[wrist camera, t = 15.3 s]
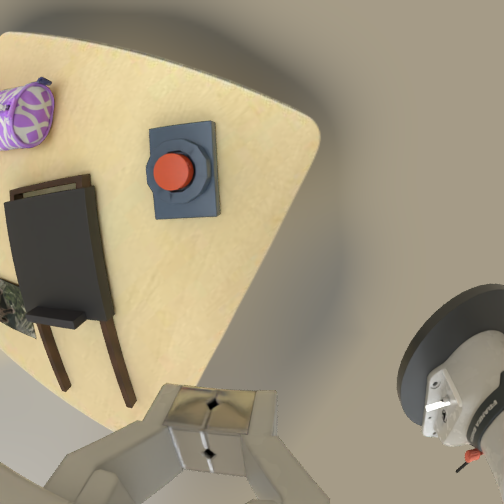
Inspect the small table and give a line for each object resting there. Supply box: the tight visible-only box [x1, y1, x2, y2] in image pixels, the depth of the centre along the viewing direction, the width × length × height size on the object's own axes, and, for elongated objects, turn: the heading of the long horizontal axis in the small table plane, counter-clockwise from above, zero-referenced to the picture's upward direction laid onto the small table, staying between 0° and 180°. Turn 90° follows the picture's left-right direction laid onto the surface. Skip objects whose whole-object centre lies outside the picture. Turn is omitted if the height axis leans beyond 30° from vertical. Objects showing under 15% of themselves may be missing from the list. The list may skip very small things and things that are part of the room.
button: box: [154, 153, 194, 191], centre depth 29 cm, size 4×4×2 cm
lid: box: [4, 186, 115, 329], centre depth 35 cm, size 17×17×5 cm
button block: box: [146, 121, 220, 220], centre depth 31 cm, size 10×7×4 cm
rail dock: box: [10, 174, 137, 408], centre depth 39 cm, size 35×15×2 cm, turn 3°
